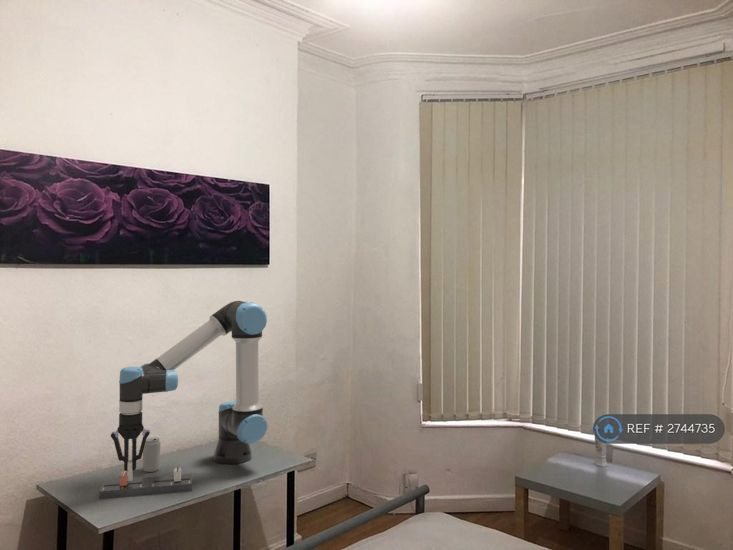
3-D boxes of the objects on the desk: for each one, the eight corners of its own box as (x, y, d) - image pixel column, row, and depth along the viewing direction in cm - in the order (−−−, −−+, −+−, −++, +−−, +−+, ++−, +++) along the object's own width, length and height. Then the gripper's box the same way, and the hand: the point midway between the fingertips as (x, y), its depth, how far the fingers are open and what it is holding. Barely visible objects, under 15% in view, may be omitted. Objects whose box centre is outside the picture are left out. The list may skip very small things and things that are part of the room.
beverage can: (154, 473, 227) (154, 441, 227) (139, 472, 228) (139, 440, 228) (163, 467, 233) (163, 437, 233) (148, 466, 234) (148, 435, 234)
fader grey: (181, 477, 217) (181, 467, 216) (181, 481, 213) (181, 470, 212) (174, 477, 216) (174, 467, 216) (173, 481, 212) (174, 471, 212)
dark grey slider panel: (192, 480, 220) (192, 473, 220) (192, 490, 211) (192, 483, 211) (103, 487, 212) (103, 480, 212) (99, 498, 203) (99, 491, 202)
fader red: (128, 481, 212) (128, 470, 211) (127, 485, 208) (127, 475, 208) (121, 481, 211) (121, 471, 211) (119, 486, 207) (119, 475, 207)
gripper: (151, 408, 215) (150, 474, 215) (111, 410, 211) (111, 477, 211) (150, 413, 207) (149, 481, 208) (109, 415, 204) (108, 484, 204)
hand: (130, 479), depth 210 cm, fingers closed
